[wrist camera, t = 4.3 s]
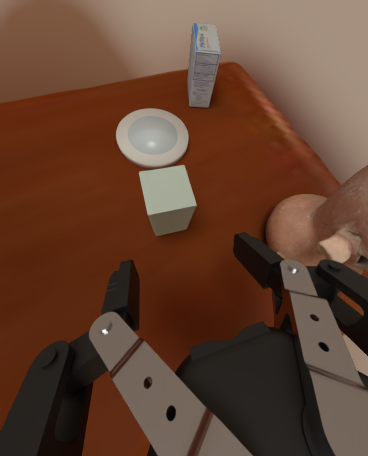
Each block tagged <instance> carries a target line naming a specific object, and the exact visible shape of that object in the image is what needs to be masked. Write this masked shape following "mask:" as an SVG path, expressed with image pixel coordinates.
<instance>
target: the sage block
mask: <svg viewBox="0 0 368 456" xmlns="http://www.w3.org/2000/svg"><path fill="white" fill-rule="evenodd" d="M139 176H140V180H141V185H142V190H143V194H144V199H145V204H146V209H147V213H148V217H149V220H150V222H151V225H152V228H153V230H154V233H155V236H160V235H164V234H168V233H173V232H177V231H182V230H186V229H187V227H188V225H189V222H190V220H191V218H192V215H193V213H194V210H195V208H196V206H197V205H196V201H195V198H194V195H193V192H192V188H191V185H190V182H189V179H188V176H187V172H186V169H185V166H184V165H182V166H175V167H169V168H162V169H155V170H149V171H142V172H139Z"/></svg>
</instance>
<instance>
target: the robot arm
mask: <svg viewBox="0 0 368 456" xmlns="http://www.w3.org/2000/svg"><path fill="white" fill-rule="evenodd" d="M233 252H234V255H235V257H236V258H237V259H238V260H239V261H240V262H241V264H242V265H243V266H244V267H245V268H246V269H247V270H248V272H249V273H250V274H251V275H252V276H253V277H254V278H255V280H256V281H257V282H258V283H259V284H260V285H261V286H262V288H263V289H267V288H271V289H272V300H273V310H274V327H267V326H266V324H265V323H264V321H262V322H260V323H257V324H254V325H252V326H249V327H246V328H245V329H244V330H243V331H241V332H240V333H239V334H238V335H237V336H235V337H234V338H233V339H232V340H227V341H208V342H205V343H203V344H200V345H197V346H194V347H192V348H189V351H190V355H189V356H188V357H187V358H186V359H185V360H184V361H183V362H182V363H181V364H180V366H179V367H178V369H177V370H176V372H175V373H174V372H173V371H172V370H171V369H170V368H169V367H168V366H167V365H166V364H165V363H164V361H163V360H162V359H161V358H160V357H159V356H158V355H157V354H156V353H155V352H154V351H153V349H152V348H151V347H150V346H149V345H148V344H147V343H146V342H145V341H144V340H143V339H140V338H139V337H138V336H137V335H136V334H135V333H134V331H136V330H139V291H140V282H139V276H138V273H137V270H136V268H135V265H134V262H133V260H128V261H124V262H121V263H120V269H119V270H118V271H114V273H113V274H112V275H111V277H110V279H109V283H108V287H107V292H106V296H105V300H104V304H103V308H102V312H101V316H100V317H99V318H98V319H97V320H96V321H95V322H94V323H93V325H92V326H91V328H90V330H89V331H88V332H87V333H85V334H84V335H82V336H80V337H79V338H77V339H75V340H74V341H72V342H70V343H69V344H68V343H67V342H66V341H57V342H54V343H52V344H51V345H49V346H48V347H46V348H45V349H44V350H43V351H42V352H41V353H40V354H39V355H38V356H37V357H36V358H35V360H34V361H33V363H32V364H31V366H30V368H29V370H28V373H27V375H26V377H25V379H24V381H23V384H22V386H21V388H20V390H19V392H18V394H17V397H16V399H15V401H14V403H13V405H12V407H11V410H10V412H9V414H8V416H7V418H6V421H5V423H4V425H3V427H2V429H1V431H0V456H82V451H83V444H84V438H85V432H86V425H87V419H88V413H89V406H90V400H91V394H92V387H93V381H94V380H96V379H97V378H98V377H100V376H101V375H102V374H104V373H105V372H106V371H108V370H109V371H110V373H111V378H112V380H113V381H114V383H115V385H116V387H117V388H118V390H119V392H120V393H121V395H122V397H123V398H124V400H125V402H126V403H127V405H128V407H129V408H130V410H131V412H132V413H133V415H134V416H135V418H136V420H137V421H138V423H139V425H140V426H141V428H142V430H143V431H144V433H145V435H146V436H147V438H148V440H149V441H150V443H151V445H150V448H149V451H148V454H147V456H368V376H366V375H364V374H363V373H361V372H359V371H357V370H356V367H355V365H354V363H353V360H352V358H351V355H350V353H349V351H348V349H347V346H346V344H345V341H344V339H343V337H342V334H341V332H340V330H341V331H342V332H343V333H344V334H346V335H347V336H348V337H349V338H350V339H351V340H352V341H353V342H354V343H355V344H356V345H357V346H358V347H359V348H360V349H361V350H362V351H363V352H364V353H365V354H366V355H367V356H368V279H367V278H365V277H364V276H362V275H360V274H359V273H357V272H355V271H354V270H352V269H351V268H349V267H347V266H346V265H344V264H342V263H340V262H337V261H334V260H330V259H323V260H320V261H319V263H318V265H317V266H304V265H303V264H301V263H299V262H297V261H294V260H285V259H284V258H282V257H281V256H280V255H279V254H277V253H276V252H275V251H273V250H272V249H271V248H269V247H268V246H267V245H266V244H264V243H263V242H262V241H260V240H259V239H257V238H254V237H251V236H249V235H248V234H247V233H245V232H243V233H239V234H236V235H235V236H234V247H233ZM340 291H341V292H343V293H344V294H345V295H347V296H348V297H349V298H350V299H352V300H353V301H354V302H356V303H357V304H358V305H359V306H360V307H361V308H362V309H363V311H364V315H363V316H362V315H361V314H360V313H358V312H357V311H356V310H355V309H353V308H352V307H351V306H350V305H348V304H347V303H346V302H345V301H343V300H342V299H341V298H340V297H338V296H337V295H338V293H339V292H340ZM339 329H340V330H339Z"/></svg>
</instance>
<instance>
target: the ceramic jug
mask: <svg viewBox="0 0 368 456" xmlns="http://www.w3.org/2000/svg"><path fill="white" fill-rule="evenodd" d="M265 234H266V242H267V246H268V247H269V248H271V249H272V250H273V251H275V252H276V253H277V254H279V255H280V256H281V257H282V258H284V259H285V260H294V261H297V262H299V263H301V264H303V265H304V266H317V265H318V263H319V261H320V260H323V259H330V260H334V261H337V262H340V263H342V264H344V265H346V266H347V267H349V268H351V269H352V270H354V271H355V272H357V273H359V274H360V275H361V274H362V272H363V270H366V271H368V165H367V166H366V167H364V168H363V169H361V170H360V171H359V172H357V173H356V174H355V175H353V176H352V177H351V178H350V179H348V180H347V181H346V182H345V183H344V184H342V185H341V186H340V187H339V188H338V189H337V190H336V191H335V192H334V193H333V194H332V195H331V196H330V197H329V198H325V197H322V196H319V195H313V194H300V195H294V196H291V197H288V198H286V199H284V200H283V201H281V202H280V203H278V204H277V205H276V206H275V208H274V209H273V210H272V212H271V214H270V216H269V218H268V220H267V223H266V230H265Z"/></svg>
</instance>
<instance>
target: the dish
mask: <svg viewBox="0 0 368 456" xmlns="http://www.w3.org/2000/svg"><path fill="white" fill-rule="evenodd" d="M116 139H117V143H118V145H119V148H120V150H121V152H122V154H123V155H124V156H125V157H126V158H127V159H128V160H129V161H130V162H132V163H133V164H135V165H137V166H140V167H143V168H148V169H162V168H166V167H169V166H172V165H174V164H175V163H177V162H178V161H179V160H181V158H182V157H183V156H184V154H185V153H186V150H187V146H188V132H187V129H186V127H185V125H184V124H183V122H182V121H181V120H180V119H179V118H177V117H176V116H175V115H173V114H171V113H169V112H167V111H164V110H160V109H141V110H137V111H134V112H132V113H130V114H128V115H127V116H126V117H124V118H123V119H122V120H121V122H120V123H119V125H118V127H117V131H116Z"/></svg>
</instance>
